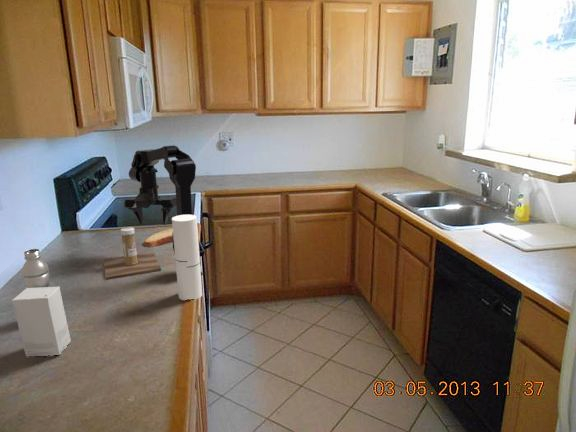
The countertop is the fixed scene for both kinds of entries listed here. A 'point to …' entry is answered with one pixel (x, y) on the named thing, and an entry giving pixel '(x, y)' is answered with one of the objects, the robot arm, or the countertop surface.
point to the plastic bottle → (35, 270)
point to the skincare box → (41, 321)
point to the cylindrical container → (187, 256)
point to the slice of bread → (159, 238)
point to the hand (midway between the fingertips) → (153, 224)
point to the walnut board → (119, 269)
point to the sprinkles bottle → (129, 246)
